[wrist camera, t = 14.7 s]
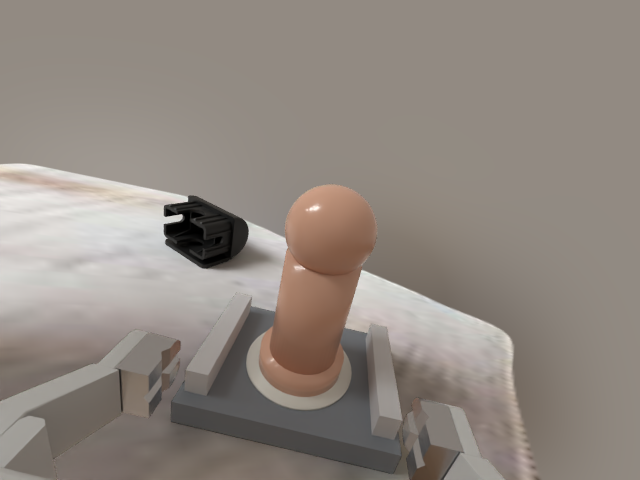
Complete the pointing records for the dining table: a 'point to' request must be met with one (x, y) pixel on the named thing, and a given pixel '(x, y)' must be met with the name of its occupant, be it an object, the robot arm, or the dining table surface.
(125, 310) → the dining table surface
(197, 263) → the end cap
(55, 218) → the dining table surface
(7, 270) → the dining table surface
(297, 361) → the ball-topped peg
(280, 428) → the display plinth
